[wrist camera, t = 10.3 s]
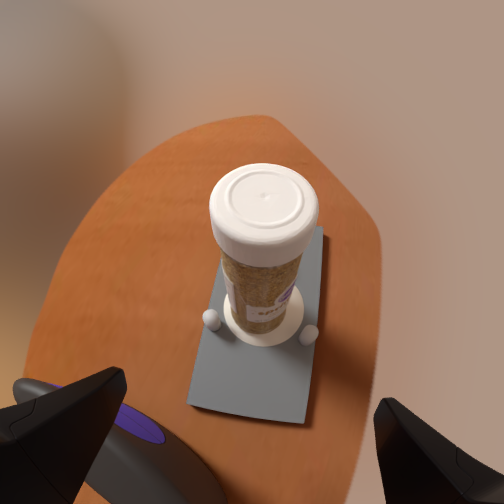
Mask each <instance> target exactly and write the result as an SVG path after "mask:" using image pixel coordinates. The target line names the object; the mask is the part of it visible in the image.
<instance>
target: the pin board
mask: <svg viewBox="0 0 504 504" xmlns="http://www.w3.org/2000/svg"><path fill="white" fill-rule="evenodd" d="M322 247H323V227H320V226H315V229H314V233H313V236H312V239H311V241H310V243H309V245H308V246H307V248H306V249H305V250H304V252H303V255H302V258H301V262H300V265H299V268H298V272H297V278H296V281H295V285H294V288H293V291H292V294H291V297H290V300H289V303H288V305H287V307H286V314H285V317H284V320H283V322H282V323H281V324H280V326H278V327H277V328H276V329H274V330H273V331H271V332H269V333H266V334H251V333H248V332H245V331H243V330H242V329H241V328H240V327H239V326H238V325H237V324H236V323H235V321H234V319H233V317H232V315H231V308H230V307H231V305H230V303H229V299H228V294H227V289H226V285H225V280H224V275H223V269H222V257H221V259H220V263H219V267H218V271H217V275H216V279H215V283H214V287H213V291H212V295H211V299H210V303H209V307H208V310H206V311H205V312H204V313H203V321H204V322H205V323H204V327H203V332H202V336H201V340H200V344H199V349H198V353H197V357H196V362H195V366H194V370H193V375H192V379H191V384H190V388H189V393H188V397H187V402H186V404H190V405H194V406H198V407H202V408H206V409H211V410H216V411H220V412H225V413H230V414H236V415H241V416H247V417H253V418H260V419H267V420H275V421H283V422H293V423H304V421H305V415H306V408H307V402H308V395H309V388H310V381H311V373H312V366H313V357H314V349H315V340H316V338H317V337H318V334H319V331H318V329H317V320H318V308H319V296H320V282H321V266H322Z"/></svg>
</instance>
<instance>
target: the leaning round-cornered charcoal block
mask: <svg viewBox="0 0 504 504" xmlns="http://www.w3.org/2000/svg"><path fill="white" fill-rule="evenodd" d="M59 388H62V386H58V385H54V384H50V383H46V382H42V381H39V380H35V379H30V378H21V379H18V380H16V381H15V382H14V385H13V395H14V398H15V400H16V402H17V404H20V403H23V402H26V401H28V400H31V399H34V398H37V397H39V396H42V395H44V394H47V393H49V392H52V391H54V390H57V389H59ZM84 481H85V482H86V483H87V484H88V485H89V486H90V487H91V488H93V489H94V490H95V491H96V492H97V493H98V494H100V495H101V496H102V497H103V498H104V499H106V500H107V501H108V502H109V503H111V504H228V502H227V499H226V496H225V494H224V491H223V490H222V488H221V486H220V484H219V483H218V481H217V480H216V478H215V477H214V476H213V474H212V473H211V472H210V470H209V469H208V468H207V467H206V465H205V464H204V463H203V462H202V461H201V460H200V459H199V458H198V457H197V456H196V455H195V454H194V453H193V452H192V451H191V450H190V449H189V448H188V447H187V446H186V445H185V444H184V443H183V442H182V441H180V440H179V439H178V438H177V437H176V436H175V435H173V434H172V433H171V432H169V431H168V430H167V429H166V428H164V427H163V426H161V425H160V424H159V423H157V422H156V421H154V420H153V419H151V418H150V417H148V416H146V415H145V414H143V413H141V412H140V411H138V410H136V409H134V408H132V407H130V406H128V405H126V404H124V403H122V404H121V407H120V409H119V412H118V414H117V417H116V419H115V422H114V424H113V426H112V428H111V430H110V432H109V434H108V435H107V437H106V439H105V441H104V443H103V445H102V447H101V449H100V451H99V453H98V454H97V456H96V458H95V460H94V462H93V464H92V466H91V468H90V470H89V472H88V474H87V476H86V478H85V480H84Z"/></svg>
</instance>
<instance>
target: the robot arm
mask: <svg viewBox="0 0 504 504" xmlns="http://www.w3.org/2000/svg"><path fill="white" fill-rule="evenodd" d="M126 391H127V383H126V379H125V374H124V371H123V369H121V368H118V367H114V366H112V367H109V368H107V369H105V370H102V371H100V372H98V373H96V374H93V375H91V376H88V377H86V378H84V379H81V380H79V381H77V382H74V383H72V384H69V385H67V386H64V387H62V388H59V389H57V390H54V391H52V392H49V393H47V394H44V395H42V396H39V397H37V398H34V399H31V400H28V401H26V402H23V403H20V404H17V405H13V406H10V407H6V408H2V409H0V504H73V502H74V500H75V498H76V496H77V494H78V492H79V490H80V488H81V486H82V484H83V482H84V480H85V478H86V476H87V474H88V472H89V470H90V468H91V466H92V464H93V462H94V460H95V458H96V456H97V454H98V453H99V451H100V449H101V447H102V445H103V443H104V441H105V439H106V437H107V435H108V434H109V432H110V430H111V428H112V426H113V424H114V422H115V419H116V417H117V414H118V412H119V409H120V407H121V404H122V402H123V399H124V397H125V394H126ZM374 429H375V438H376V450H377V457H378V462H379V467H380V472H381V477H382V483H383V488H384V494H385V500H386V504H504V475H503V474H501V473H499V472H497V471H495V470H493V469H492V468H490V467H488V466H486V465H484V464H483V463H481V462H479V461H478V460H476V459H474V458H473V457H471V456H470V455H468V454H467V453H465V452H464V451H463V450H461V449H460V448H459V447H456V445H455V444H453V443H452V442H450V441H449V440H448V439H447V438H445V437H444V436H443V435H441V434H440V433H439V432H437V431H436V430H435V429H433V428H432V427H431V426H429V425H428V424H427V423H425V422H424V421H423V420H422V419H420V418H419V417H418V416H416V415H415V414H414V413H412V412H411V411H410V410H408V409H407V408H406V407H405V406H403V405H402V404H401V403H399V402H398V401H397V400H396V399H394V398H392V397H391V398H383V399H382V400H381V401H380V403H379V405H378V407H377V409H376V411H375V414H374Z"/></svg>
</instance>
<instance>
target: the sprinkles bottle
mask: <svg viewBox="0 0 504 504" xmlns="http://www.w3.org/2000/svg"><path fill="white" fill-rule="evenodd" d="M209 208H210V217H211V224H212V229H213V234H214V237H215V239H216V241H217V243H218V245H219V247H220V250H221V257H222V269H223V275H224V280H225V285H226V289H227V294H228V299H229V303H230V305H231V307H230V308H231V315H232V317H233V319H234V321H235V323H236V324H237V325H238V326H239V327H240V328H241V329H242V330H243V331H245V332H248V333H251V334H266V333H269V332H271V331H273V330H274V329H276V328H277V327H278V326H280V324H281V323H282V322H283V320H284V317H285V314H286V307H287V305H288V303H289V300H290V297H291V294H292V291H293V288H294V285H295V281H296V278H297V272H298V268H299V265H300V262H301V258H302V255H303V252H304V250H305V249H306V248H307V246H308V245H309V243H310V241H311V239H312V236H313V233H314V229H315V226H316V222H317V219H318V213H319V203H318V198H317V195H316V193H315V191H314V189H313V188H312V186H311V185H310V183H309V182H308V181H307V180H306V179H305V178H304V177H302V176H301V175H300V174H298V173H297V172H295V171H293V170H291V169H289V168H286V167H283V166H279V165H275V164H266V163H258V164H250V165H246V166H243V167H239V168H237V169H235V170H233V171H231V172H229V173H228V174H226V175H225V176H224V177H223V178H222V179H221V180H220V181H219V182H218V183H217V184H216V186H215V187H214V189H213V191H212V194H211V198H210V207H209Z"/></svg>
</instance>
